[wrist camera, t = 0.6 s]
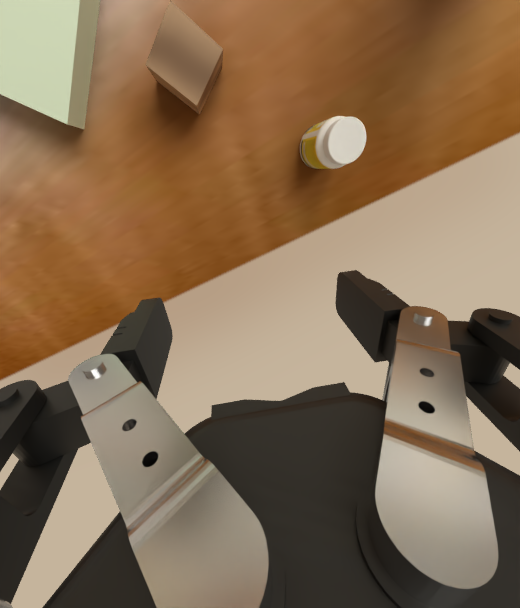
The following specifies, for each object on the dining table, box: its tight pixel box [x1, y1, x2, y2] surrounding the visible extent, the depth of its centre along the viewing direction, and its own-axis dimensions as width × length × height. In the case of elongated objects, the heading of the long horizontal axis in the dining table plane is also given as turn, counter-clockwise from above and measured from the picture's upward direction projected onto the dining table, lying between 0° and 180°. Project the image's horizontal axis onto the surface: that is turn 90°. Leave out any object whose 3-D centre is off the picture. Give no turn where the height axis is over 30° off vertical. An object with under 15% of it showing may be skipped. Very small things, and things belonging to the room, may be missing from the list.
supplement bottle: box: [300, 116, 366, 169], centre depth 28 cm, size 5×5×8 cm
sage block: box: [0, 0, 100, 129], centre depth 22 cm, size 12×12×4 cm
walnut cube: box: [146, 0, 223, 115], centre depth 25 cm, size 5×5×5 cm
